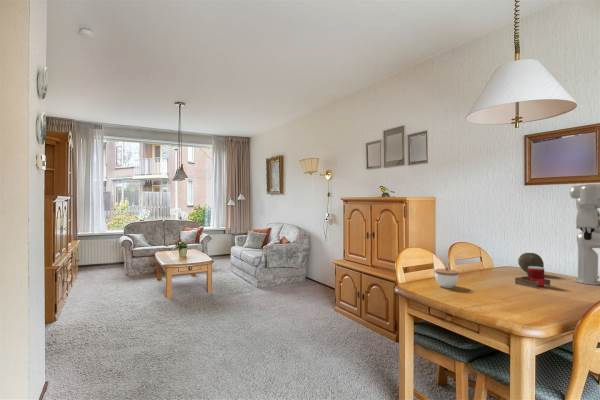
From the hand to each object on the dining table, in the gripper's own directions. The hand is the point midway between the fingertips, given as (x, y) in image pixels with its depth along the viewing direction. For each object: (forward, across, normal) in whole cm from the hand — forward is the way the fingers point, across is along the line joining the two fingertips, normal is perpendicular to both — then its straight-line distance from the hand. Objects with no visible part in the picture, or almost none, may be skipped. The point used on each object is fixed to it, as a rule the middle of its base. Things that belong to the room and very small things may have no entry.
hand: (587, 239), depth 188 cm
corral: (+29, +20, +15) cm, 38 cm away
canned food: (+29, +18, +16) cm, 38 cm away
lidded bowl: (+29, +38, +68) cm, 83 cm away
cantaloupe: (+29, +38, -14) cm, 50 cm away
